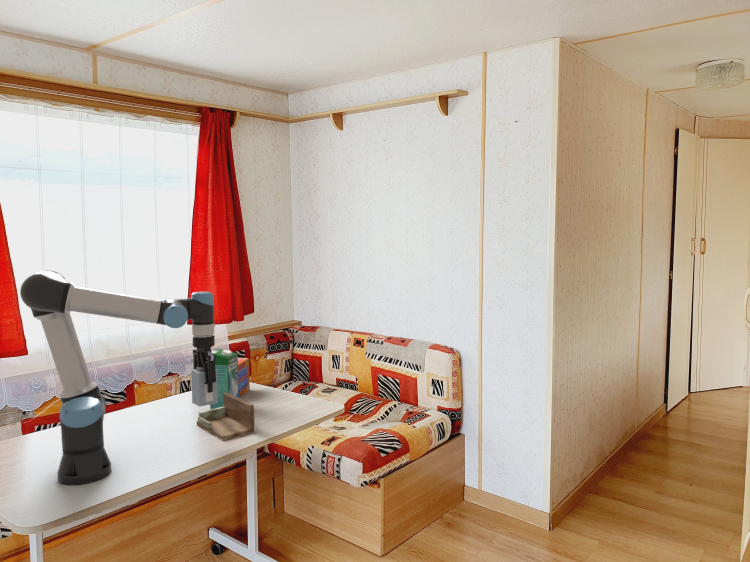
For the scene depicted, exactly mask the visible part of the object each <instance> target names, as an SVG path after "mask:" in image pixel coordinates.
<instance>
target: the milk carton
mask: <svg viewBox="0 0 750 562" xmlns="http://www.w3.org/2000/svg"><path fill="white" fill-rule="evenodd" d="M211 352H212V355H216V358H215V368H216V370H217V376H218V403H215V404H210V405H209V406H210V407H209V408H210V409H215V408H219V407H223V393H226V392H227V393H229V394H231V395H233V396H235V397H238V398H239V387H238V358H239V357H238V353H236V352H233V351H232V350H229V349H223V348H220V347H217V348H215V349H213V350H211ZM210 409H209V410H210Z"/></svg>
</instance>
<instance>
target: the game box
mask: <svg viewBox="0 0 750 562" xmlns="http://www.w3.org/2000/svg"><path fill="white" fill-rule="evenodd" d="M249 362H250V359H249V358H247V357H238V387H239V398H240V399H241V397H242V396H243V395H245V394H246V393H247V392H249V391H250V390H251V389H250V388H251V385H250V363H249Z"/></svg>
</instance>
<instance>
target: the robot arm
mask: <svg viewBox="0 0 750 562" xmlns="http://www.w3.org/2000/svg"><path fill="white" fill-rule="evenodd" d="M19 291H20V292H19V293H20V299H21V300H22V302H23V303H24V304H25V305H26V307H28V308H29V309H30V310H31V313H32V315H33V318H34V319H36V320H39V321H40V322H41V326H42V330H43V332H44V335H45V338H46V341H47V343H48V347H49V350H50V354H51V356H52V359H53V363H54V366H55V369H56V372H57V375H58V377H59V381H60V383H61V384H60V385H61V386H62V392H61V393H60V394H59V398H60V402H61V403H62V405H61V407H60V409H59V410H60V411H59V420H60V431H61V432H60V433H61V445H62V446H61V449H62V450H61V451H62V454H61V455H62V456H61V459H60V462H59V467H58V469H57V472H56V473H57V482H59V483H61V484H64V485H69V486H70V485H73V486H74V485H75V486H77V485H85V484H89V483H92V482H96V481H99V480H101V479H103V478H106V477H107V476H109V474H110V473H111V471H112V462H111V460H110V457H109V456H108V453H107V450H106V449H105V444H104V442H105V441H104V418H105V414H106V411H107V403H106V402H107V401H106V400H105V397H104V396H103V395H102V392H101V391H100V386H99V385H98V383H97V382H95V381H94V380H92V379H91V378H92V377H91V376H90V372H89V369H88V367H87V363H86V360H85V357H84V354H83V350H82V347H81V344H80V341H79V338H78V334H77V332H76V329H75V328H76V327H75V326H74V321H73V320H72V316H71V312H76V313H83V314H87V315H88V314H89V315H95V316H103V317H109V318H116V319H123V320H130V321H137V322H144V323H150V324H151V323H152V324H156V325H163V326H167V327H169V328H171V329H180V328H182V327H183V326H185V325H186V323H187V322H188V321H190V320H191V321H192V322H191V330H192V331H191V333H192V335H193V336H192V346H193V348H196V349H192V356H193V358H192V359H193V361H192V362H193V367H192V370H194V369H196V367H203V368H204V372H205V379H206V383H204V384H205V402H208V401H213V383H214V382H216V368H215V358H216V355H212V352H211V351H212V349H211V348H213V347H215V345H216V343H215V341H216V340H215V328H216V325H215V303H214V300H215V299H214V294H213V293H212V292H211V291H194V292H192V293H191V296H190V297H188V298H165V299H151V298H145V297H138V296H134V295H127V294H121V293H114V292H109V291H104V290H98V289H92V288H86V287H85V288H84V287H79V286H76V285H75V284H74V283H73V282H70V281H68V280H67V278H65V276H63V275H62V274H61V273H60V272H56V271H54V270H49V269H47V270H41V271H37V272H35V273H34V274H32V275H29V276H28V277H27V278H26V279H25V280H24V281H23V282H22V283H21V287H20V289H19Z"/></svg>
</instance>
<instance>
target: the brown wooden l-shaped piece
mask: <svg viewBox="0 0 750 562" xmlns="http://www.w3.org/2000/svg"><path fill="white" fill-rule="evenodd" d="M196 426H198V427H199V428H201V429H203V430H204V431H206V432H207V431H208V432H207V433H209V434H210V435H213V436H214V435H215V436H214V437H216V436H217V437H216V438H217V439H219V438H220V439H219V440H221V439H222V440H221V441H226V440H225V439H227V440H230V439H229V438H231V439H234V438H238V437H241V435H242V436H245V435H249V434H252V433H255V429H256V428H255V407H254V404H253V403H251V402H248V401H246V400H244V399H242V398H241V397H240V398H238V397H235V396H233V395H231V394H229V393H227V392H226V393H223V407H219V408H215V409H208V410H207V409H206V410H203V411H199V412H198V416H197V421H196ZM248 433H249V434H248ZM244 434H245V435H244ZM237 436H238V437H237ZM233 437H234V438H233Z"/></svg>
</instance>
